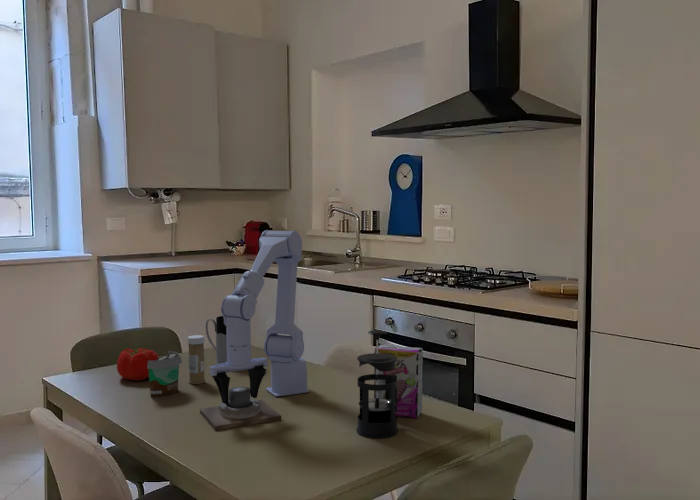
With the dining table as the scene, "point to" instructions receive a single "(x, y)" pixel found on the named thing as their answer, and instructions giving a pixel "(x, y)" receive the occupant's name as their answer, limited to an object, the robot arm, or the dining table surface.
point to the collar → (239, 415)
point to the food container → (164, 374)
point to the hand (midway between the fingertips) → (239, 400)
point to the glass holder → (219, 339)
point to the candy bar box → (405, 379)
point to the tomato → (135, 363)
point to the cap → (239, 397)
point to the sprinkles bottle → (196, 359)
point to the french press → (377, 411)
